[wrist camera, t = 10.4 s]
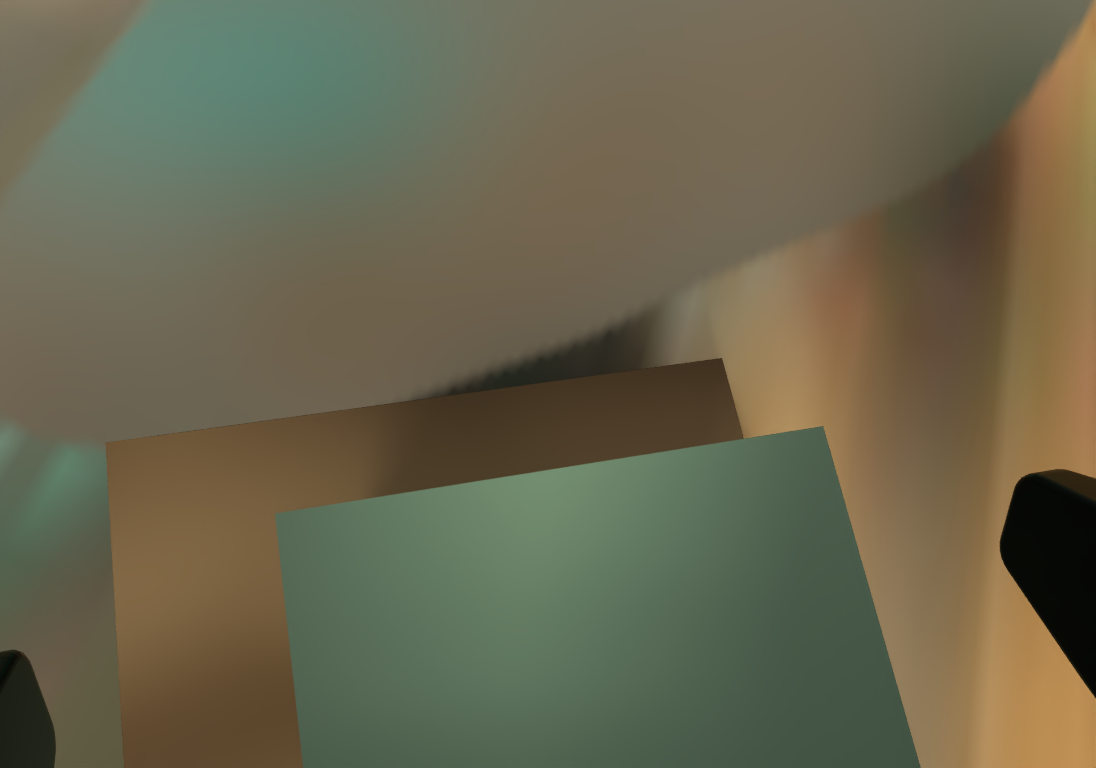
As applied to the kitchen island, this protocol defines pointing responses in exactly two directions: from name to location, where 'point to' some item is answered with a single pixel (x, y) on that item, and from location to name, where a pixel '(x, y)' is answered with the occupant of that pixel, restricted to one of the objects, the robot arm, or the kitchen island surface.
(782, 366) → the kitchen island surface
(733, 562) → the teal block
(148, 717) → the walnut board
